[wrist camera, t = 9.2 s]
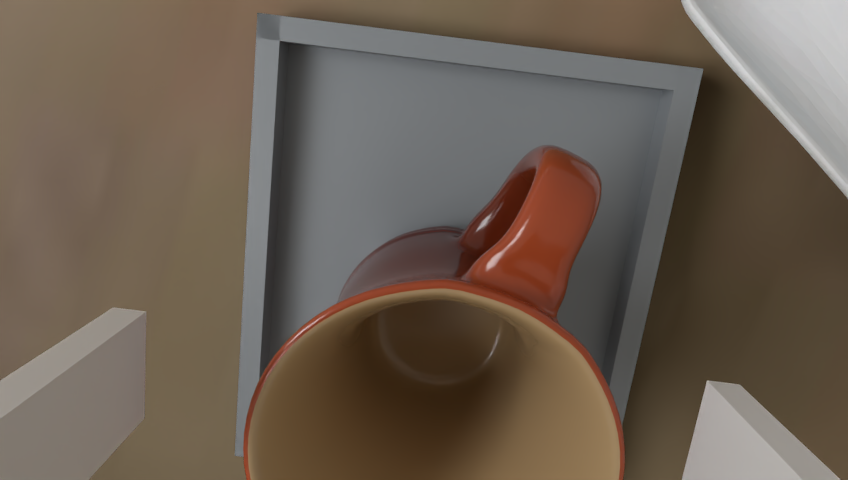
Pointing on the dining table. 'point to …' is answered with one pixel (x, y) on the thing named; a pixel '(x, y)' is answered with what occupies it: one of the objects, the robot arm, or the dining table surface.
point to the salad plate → (789, 66)
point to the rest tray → (447, 169)
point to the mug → (450, 354)
